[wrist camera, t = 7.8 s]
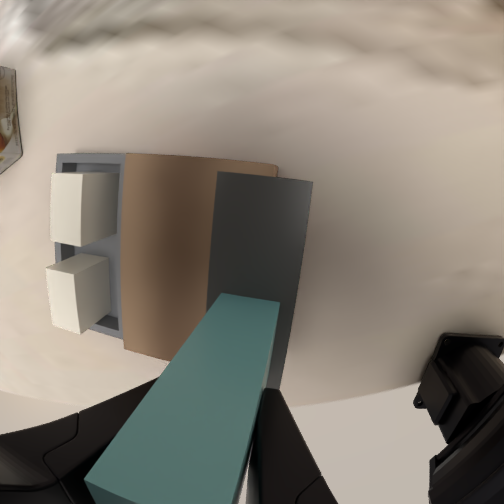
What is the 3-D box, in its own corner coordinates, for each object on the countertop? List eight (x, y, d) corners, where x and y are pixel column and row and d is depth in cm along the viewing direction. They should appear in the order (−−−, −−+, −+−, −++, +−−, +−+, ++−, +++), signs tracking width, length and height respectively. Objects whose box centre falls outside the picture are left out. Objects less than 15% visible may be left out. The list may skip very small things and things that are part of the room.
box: (145, 155, 18) (130, 153, 17) (139, 328, 21) (127, 340, 20) (74, 154, 19) (57, 153, 17) (76, 309, 22) (61, 319, 20)
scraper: (311, 181, 11) (355, 180, 2) (272, 417, 14) (230, 605, 4) (231, 172, 12) (-4, 163, 2) (212, 405, 14) (133, 578, 5)
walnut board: (278, 166, 18) (274, 164, 15) (253, 352, 21) (246, 377, 18) (149, 155, 18) (125, 153, 16) (143, 329, 21) (124, 348, 18)
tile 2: (73, 274, 16) (45, 268, 16) (80, 334, 17) (52, 325, 17) (108, 257, 20) (81, 252, 20) (111, 310, 21) (84, 304, 21)
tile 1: (82, 174, 15) (51, 173, 15) (80, 246, 16) (50, 240, 16) (119, 172, 19) (90, 171, 19) (116, 233, 20) (87, 229, 20)
